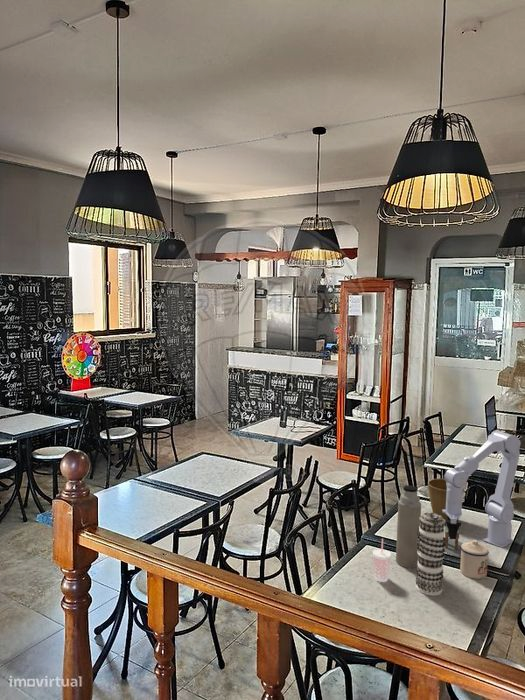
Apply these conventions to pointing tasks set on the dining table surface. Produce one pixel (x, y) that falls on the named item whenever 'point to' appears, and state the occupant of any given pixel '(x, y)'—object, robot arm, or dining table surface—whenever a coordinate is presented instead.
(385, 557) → the beverage cup
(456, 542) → the stool
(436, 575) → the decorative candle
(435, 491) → the plant pot
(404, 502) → the thermos bottle
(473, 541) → the teacup with lid
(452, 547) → the mat
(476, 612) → the dining table surface
